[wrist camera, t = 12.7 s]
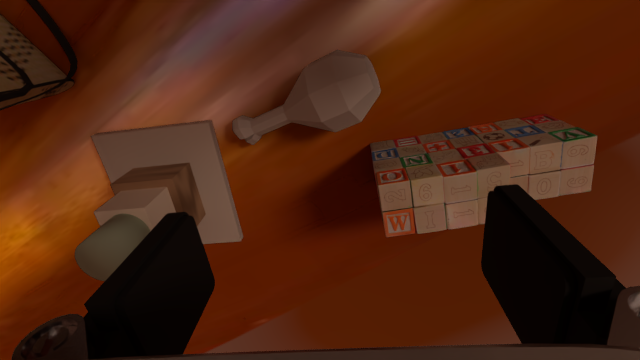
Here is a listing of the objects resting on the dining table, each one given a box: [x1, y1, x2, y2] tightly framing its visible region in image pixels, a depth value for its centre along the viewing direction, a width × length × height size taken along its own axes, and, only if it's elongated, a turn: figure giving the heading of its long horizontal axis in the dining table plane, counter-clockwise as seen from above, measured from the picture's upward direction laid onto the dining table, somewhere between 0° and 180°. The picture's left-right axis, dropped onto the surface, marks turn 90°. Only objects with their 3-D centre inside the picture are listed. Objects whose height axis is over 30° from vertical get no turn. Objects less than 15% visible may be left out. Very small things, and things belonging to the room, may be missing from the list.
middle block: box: [94, 187, 176, 231], centre depth 40 cm, size 6×6×5 cm
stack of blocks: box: [370, 114, 597, 237], centre depth 37 cm, size 21×6×12 cm, turn 102°
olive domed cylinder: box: [75, 214, 150, 281], centre depth 35 cm, size 5×5×5 cm
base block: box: [110, 163, 206, 226], centre depth 44 cm, size 8×8×5 cm
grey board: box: [91, 120, 243, 244], centre depth 47 cm, size 18×16×1 cm
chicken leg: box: [232, 50, 381, 145], centre depth 39 cm, size 8×18×8 cm, turn 116°
